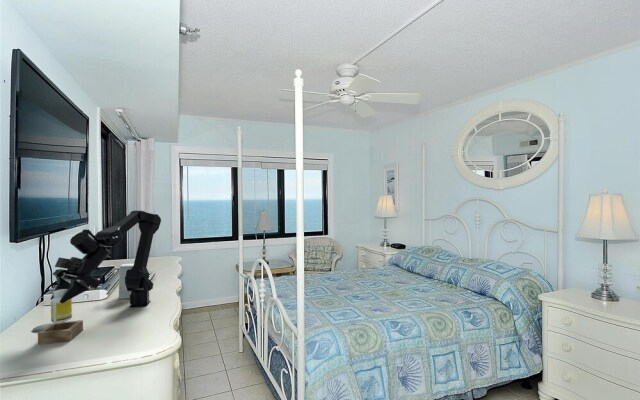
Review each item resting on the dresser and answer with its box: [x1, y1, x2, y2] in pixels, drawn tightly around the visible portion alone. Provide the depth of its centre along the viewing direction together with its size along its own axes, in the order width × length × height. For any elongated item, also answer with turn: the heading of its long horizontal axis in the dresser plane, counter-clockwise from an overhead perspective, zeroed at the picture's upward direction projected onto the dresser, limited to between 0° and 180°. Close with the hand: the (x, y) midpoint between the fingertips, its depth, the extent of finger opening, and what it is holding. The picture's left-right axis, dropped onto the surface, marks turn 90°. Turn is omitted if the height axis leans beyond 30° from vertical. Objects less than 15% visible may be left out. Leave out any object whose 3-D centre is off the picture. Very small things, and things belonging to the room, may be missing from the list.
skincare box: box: [118, 263, 134, 300], centre depth 153 cm, size 8×6×15 cm
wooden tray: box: [37, 319, 84, 345], centre depth 109 cm, size 9×9×4 cm
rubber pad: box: [32, 322, 52, 333], centre depth 117 cm, size 7×7×1 cm
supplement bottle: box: [50, 289, 73, 323], centre depth 109 cm, size 5×5×10 cm
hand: (56, 301), depth 108 cm, fingers closed on supplement bottle, 5 cm apart
